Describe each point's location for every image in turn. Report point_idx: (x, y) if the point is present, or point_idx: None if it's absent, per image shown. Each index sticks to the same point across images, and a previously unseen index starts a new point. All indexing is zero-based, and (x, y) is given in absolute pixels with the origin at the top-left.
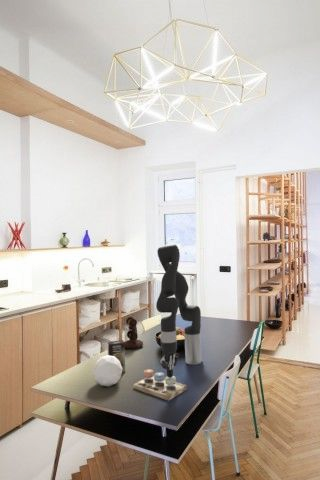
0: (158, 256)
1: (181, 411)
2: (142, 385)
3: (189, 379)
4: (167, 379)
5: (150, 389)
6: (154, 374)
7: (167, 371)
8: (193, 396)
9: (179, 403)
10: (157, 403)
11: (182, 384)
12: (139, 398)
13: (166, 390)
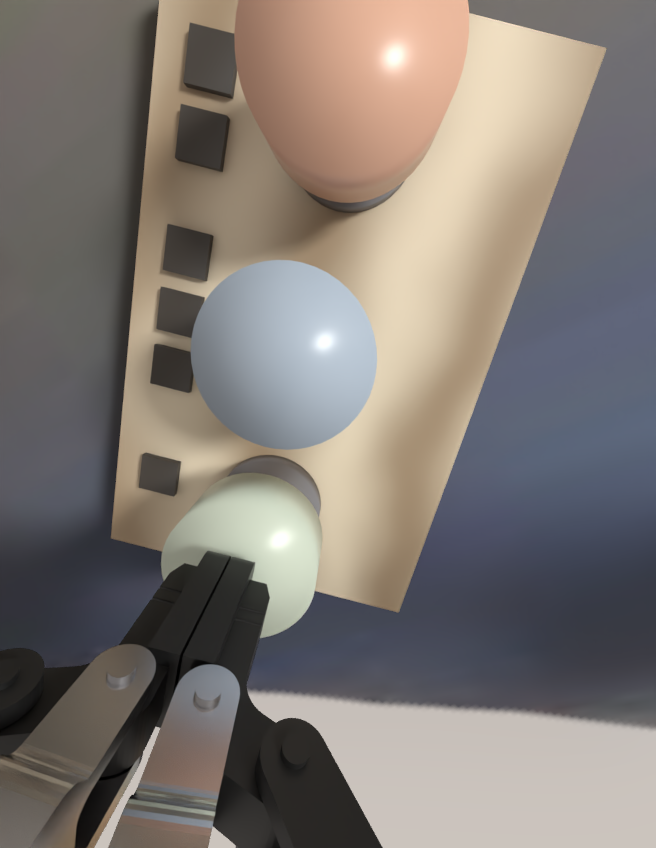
0: None
1: (49, 647)
2: (179, 130)
3: (640, 541)
4: (162, 559)
5: (144, 299)
6: (244, 275)
7: (134, 635)
8: (291, 660)
9: (139, 604)
10: (47, 452)
11: (403, 573)
12: (27, 238)
13: (207, 478)
